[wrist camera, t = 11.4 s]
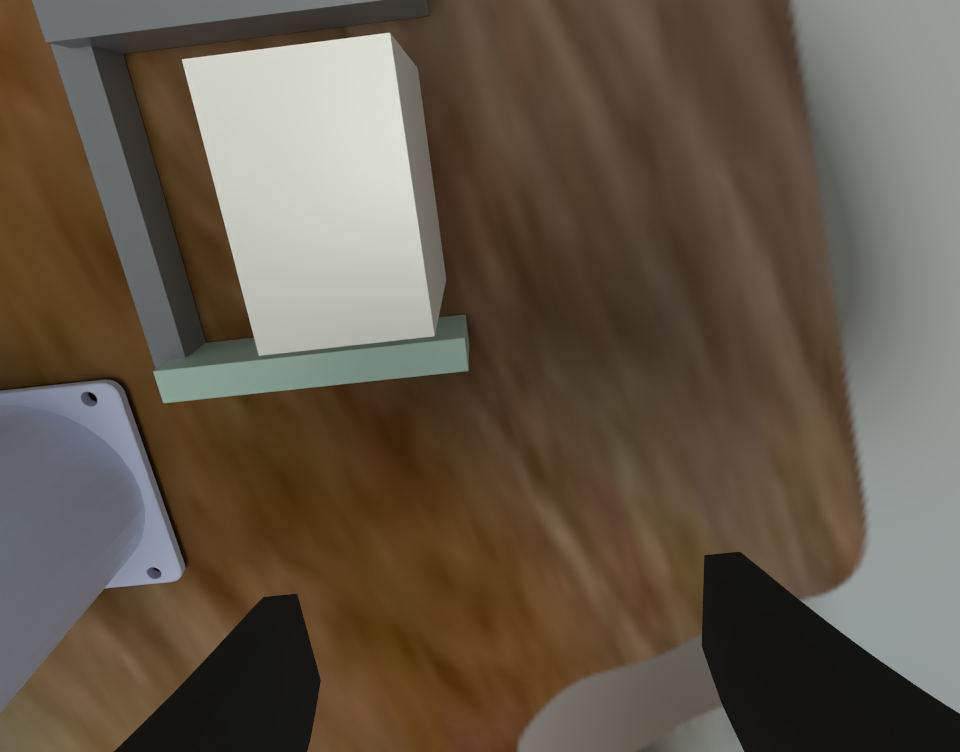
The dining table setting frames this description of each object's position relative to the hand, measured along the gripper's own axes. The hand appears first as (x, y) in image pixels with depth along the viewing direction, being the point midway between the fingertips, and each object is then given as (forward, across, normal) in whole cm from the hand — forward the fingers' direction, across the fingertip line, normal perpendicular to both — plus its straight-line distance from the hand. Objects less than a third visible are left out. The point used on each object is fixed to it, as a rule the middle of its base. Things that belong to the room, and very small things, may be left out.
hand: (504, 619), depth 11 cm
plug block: (+10, +3, -7) cm, 13 cm away
